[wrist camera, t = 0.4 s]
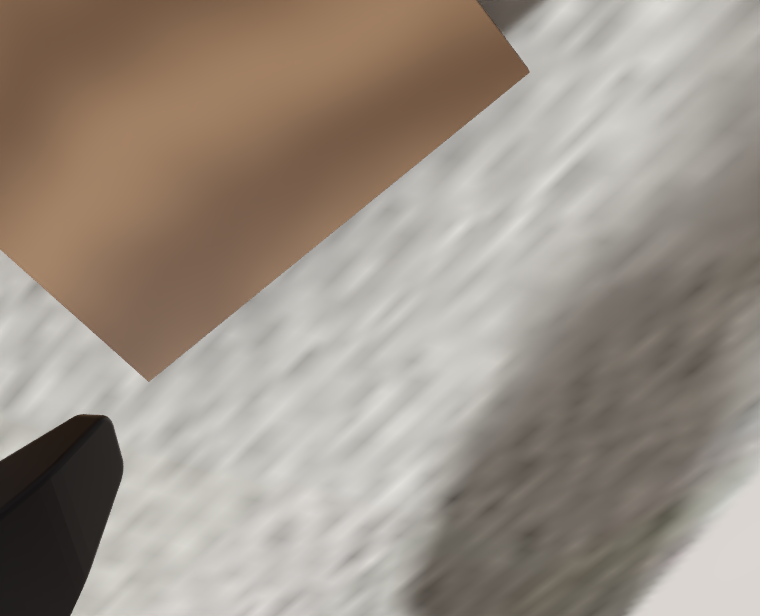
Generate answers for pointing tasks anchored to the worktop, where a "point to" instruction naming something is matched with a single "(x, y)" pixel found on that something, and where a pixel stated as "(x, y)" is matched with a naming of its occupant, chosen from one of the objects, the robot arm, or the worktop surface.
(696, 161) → the worktop surface
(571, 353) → the worktop surface
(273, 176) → the shelf board
